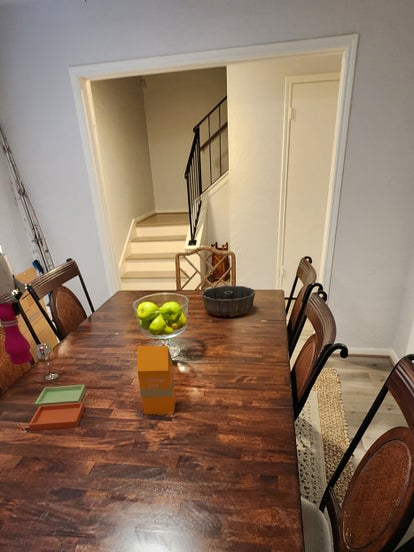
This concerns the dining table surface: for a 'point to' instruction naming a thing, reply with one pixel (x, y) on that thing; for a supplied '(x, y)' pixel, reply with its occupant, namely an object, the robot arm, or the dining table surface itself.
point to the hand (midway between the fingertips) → (7, 314)
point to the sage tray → (61, 395)
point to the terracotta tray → (57, 416)
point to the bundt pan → (228, 300)
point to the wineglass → (45, 357)
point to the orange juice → (156, 379)
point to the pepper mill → (13, 335)
